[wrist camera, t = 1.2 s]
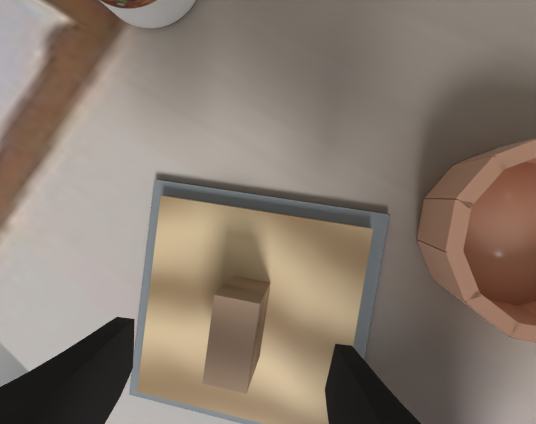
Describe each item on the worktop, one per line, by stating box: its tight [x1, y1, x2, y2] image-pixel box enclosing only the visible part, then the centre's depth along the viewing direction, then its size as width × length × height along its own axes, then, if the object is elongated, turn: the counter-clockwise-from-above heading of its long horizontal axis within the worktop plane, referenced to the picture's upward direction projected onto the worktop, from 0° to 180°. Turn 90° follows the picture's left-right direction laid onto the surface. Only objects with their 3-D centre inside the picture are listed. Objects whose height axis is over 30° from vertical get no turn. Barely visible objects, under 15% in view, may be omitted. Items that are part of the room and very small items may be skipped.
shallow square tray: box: [129, 180, 390, 424], centre depth 22 cm, size 16×16×1 cm
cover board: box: [137, 196, 373, 424], centre depth 19 cm, size 14×14×5 cm
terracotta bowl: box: [417, 138, 536, 342], centre depth 17 cm, size 10×10×4 cm
